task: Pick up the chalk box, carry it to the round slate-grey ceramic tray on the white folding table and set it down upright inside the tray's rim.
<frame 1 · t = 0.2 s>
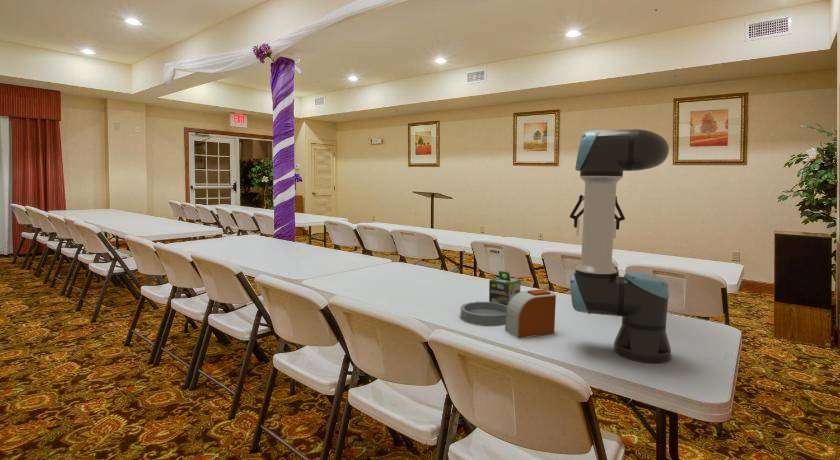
hand: (595, 237, 183), 28 cm above the table, fingers open, 13 cm apart
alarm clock: (530, 332, 155), on the table
round tray: (486, 317, 169), on the table
chalk box: (504, 308, 182), on the table
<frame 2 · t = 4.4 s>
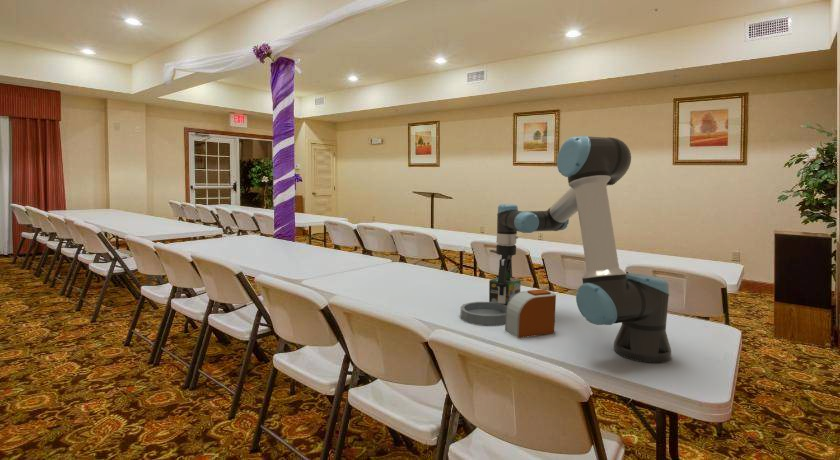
hand: (504, 299, 181), 4 cm above the table, fingers open, 12 cm apart
nothing on the table moved.
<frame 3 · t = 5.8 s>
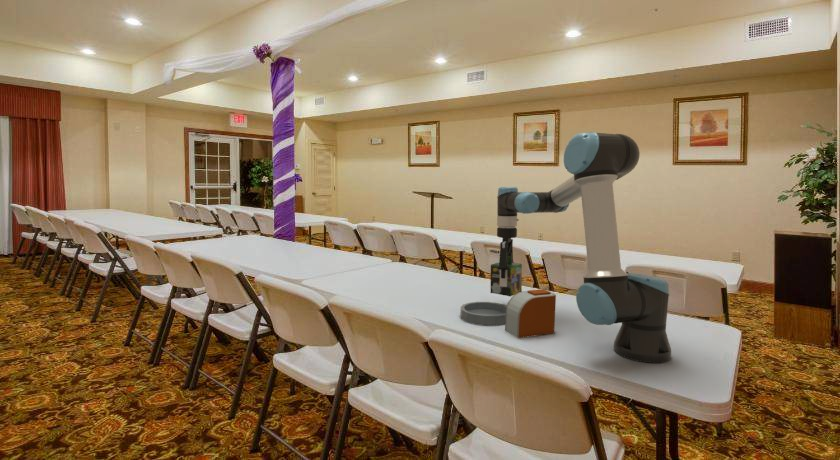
hand: (505, 283, 180), 10 cm above the table, fingers closed on chalk box, 10 cm apart
chalk box: (505, 293, 181), point 6 cm above the table, touching gripper
everything else where it was.
when the fingers open (5 cm above the table, at t = 12.1 s): chalk box stays where it is, resting on round tray.
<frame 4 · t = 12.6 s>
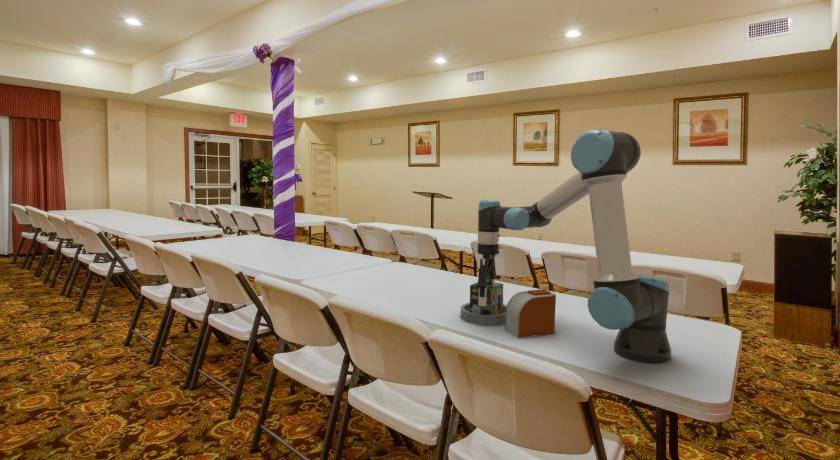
hand: (486, 300, 169), 6 cm above the table, fingers open, 13 cm apart
chalk box: (486, 315, 169), point 1 cm above the table, touching round tray
everything else where it was.
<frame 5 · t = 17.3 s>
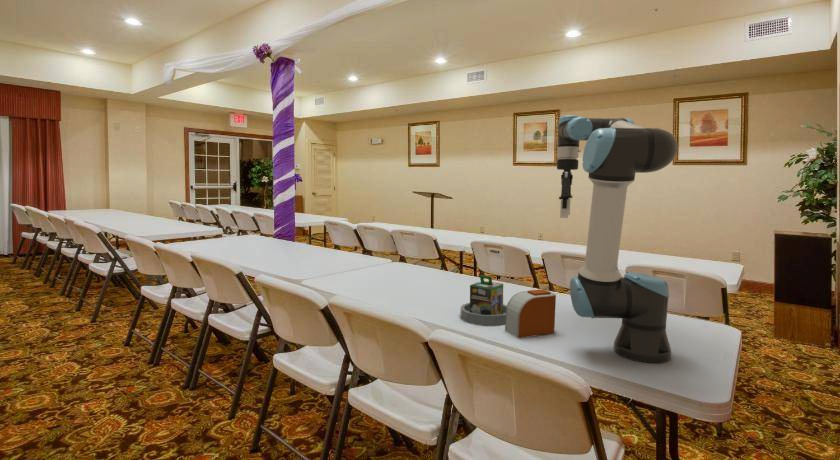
hand: (565, 216, 173), 37 cm above the table, fingers open, 13 cm apart
nothing on the table moved.
at the end: chalk box 0.0 cm from the round tray (horizontally); chalk box point 0.8 cm above the table; chalk box tilted 0° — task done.
